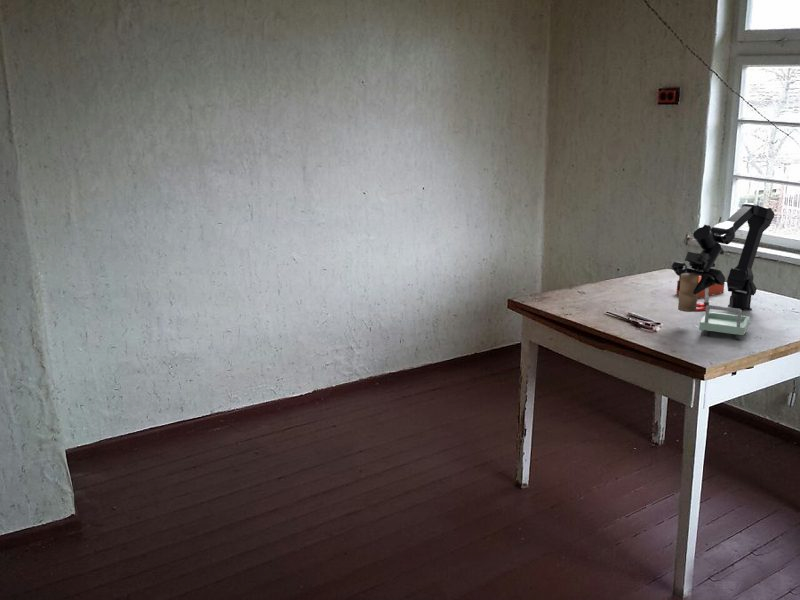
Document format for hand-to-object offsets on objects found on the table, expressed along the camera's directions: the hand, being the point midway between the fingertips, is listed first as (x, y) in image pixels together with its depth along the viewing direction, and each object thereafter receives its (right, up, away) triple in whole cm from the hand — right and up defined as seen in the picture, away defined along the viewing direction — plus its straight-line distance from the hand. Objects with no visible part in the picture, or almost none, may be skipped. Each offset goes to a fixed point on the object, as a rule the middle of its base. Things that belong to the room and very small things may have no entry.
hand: (686, 292), depth 265 cm
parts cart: (+11, -14, -5) cm, 19 cm away
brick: (+22, 0, +44) cm, 49 cm away
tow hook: (+13, -6, +24) cm, 28 cm away
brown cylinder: (+1, -6, +3) cm, 7 cm away
